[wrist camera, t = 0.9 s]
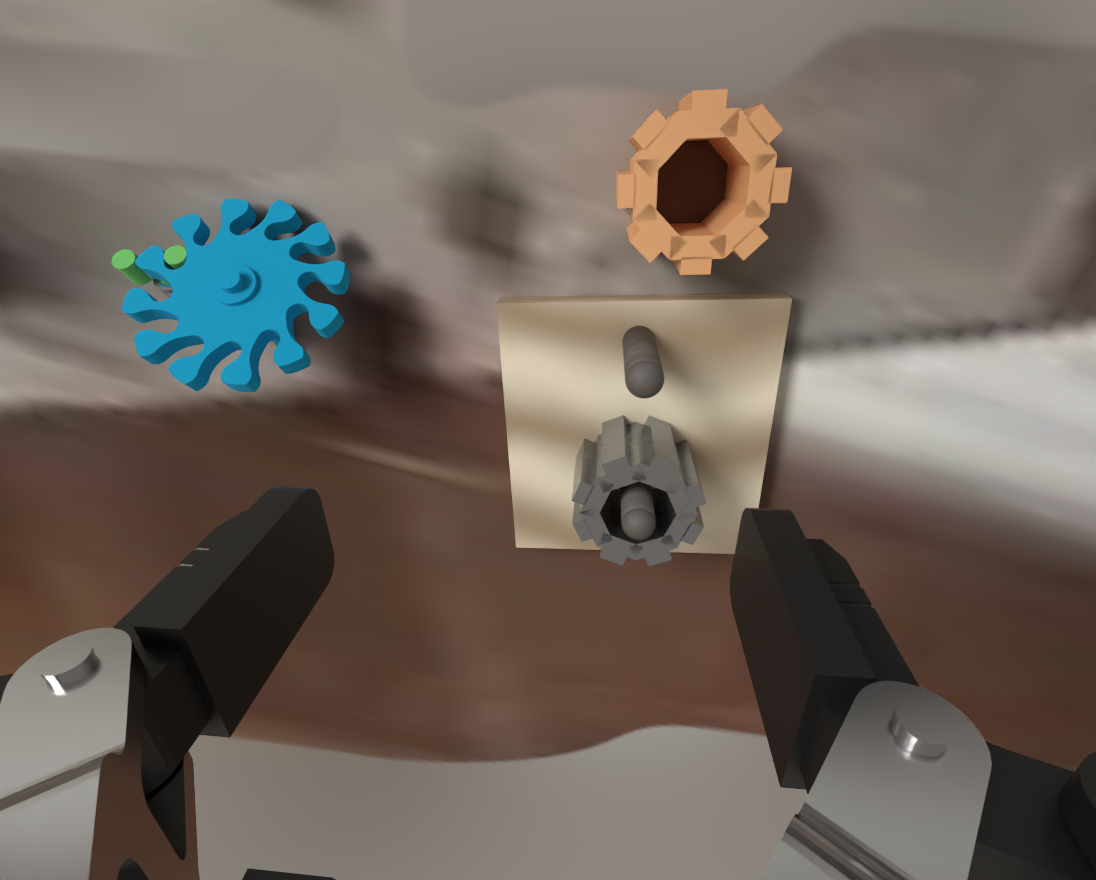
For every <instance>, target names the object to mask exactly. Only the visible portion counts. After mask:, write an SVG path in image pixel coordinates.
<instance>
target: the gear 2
mask: <svg viewBox="0 0 1096 880" xmlns="http://www.w3.org/2000/svg"><path fill="white" fill-rule="evenodd" d="M636 482H642V483H645V484H647V485H650V486H653V487H655V488H654V489H652V497H653V505H654V512H655V520H656V525H655V529H654V531H653V533H652V534H651V535H650V536H649V537H647V538H645V539H642V540H636V539H633V538H630V537H629V536H628V535H626V533H625V532H624V531H623V528H622V524H621V497H620V490H617V488H620V487H624V486H627V485H630V484H633V483H636ZM571 501H573V502H574V510H573V520H572V524H573V526H574V528H575V530H576V532H577V534H578V536H579V538H580V540H581V542H583V541H587V540H590V539H593V540H594V542H595V544H596V546H598V547H601V556H600V558H603V559H606V560H608V561H611V562H614V563H617V564H619V565H623V563H624V562H625V560H626V558H627V557H629V558H631V559H634V560H638V559H641V558H645V559H646V561H647V563H648V565H649V566H652V565H655V564H659V563H662V562H666V561H669V560H672V559H671V552H670V550H673V549H676V548H677V547H678V546H679V544H680V543H681V541H682V542H685V543H688V544H690V545H693V544H694V542H695V541H696V539H697V538H698V536H699V535H700V533H701V531H702V530H703V528H704V524H703V521H702V517H701V513H700V509H699V506H701V505H705V504H707V503H706V500H705V496H704V493H703V489H702V486H701V482H700V478H699V475H698V471H697V468H696V464H695V460H694V457H693V455H692V452H691V449H690V447H689V444H688V442H687V439H686V440H683V441H680V442H677V443H676V442H675V440H674V437H673V435H672V431H671V427H670V423H668V422H665V421H663V420H660V419H658V418H655V417H652V416H650V415H649V416H648V418H647V420H646V422H645V424H644V425H643V424H641V423H638V422H633V423H630V424H627V423H626V420H625V418H624V416H623V415H622V416H619V417H617V418H614V419H611V420H608V421H606V422H603V423H602V434H600V435H598V436H597V439H596V441H595V442H593V441H590V440H588V439H585V438H584V440H583V443H582V445H581V447H580V449H579V451H578V454H577V456H576V464H575V473H574V482H573V491H572V500H571Z"/></svg>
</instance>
